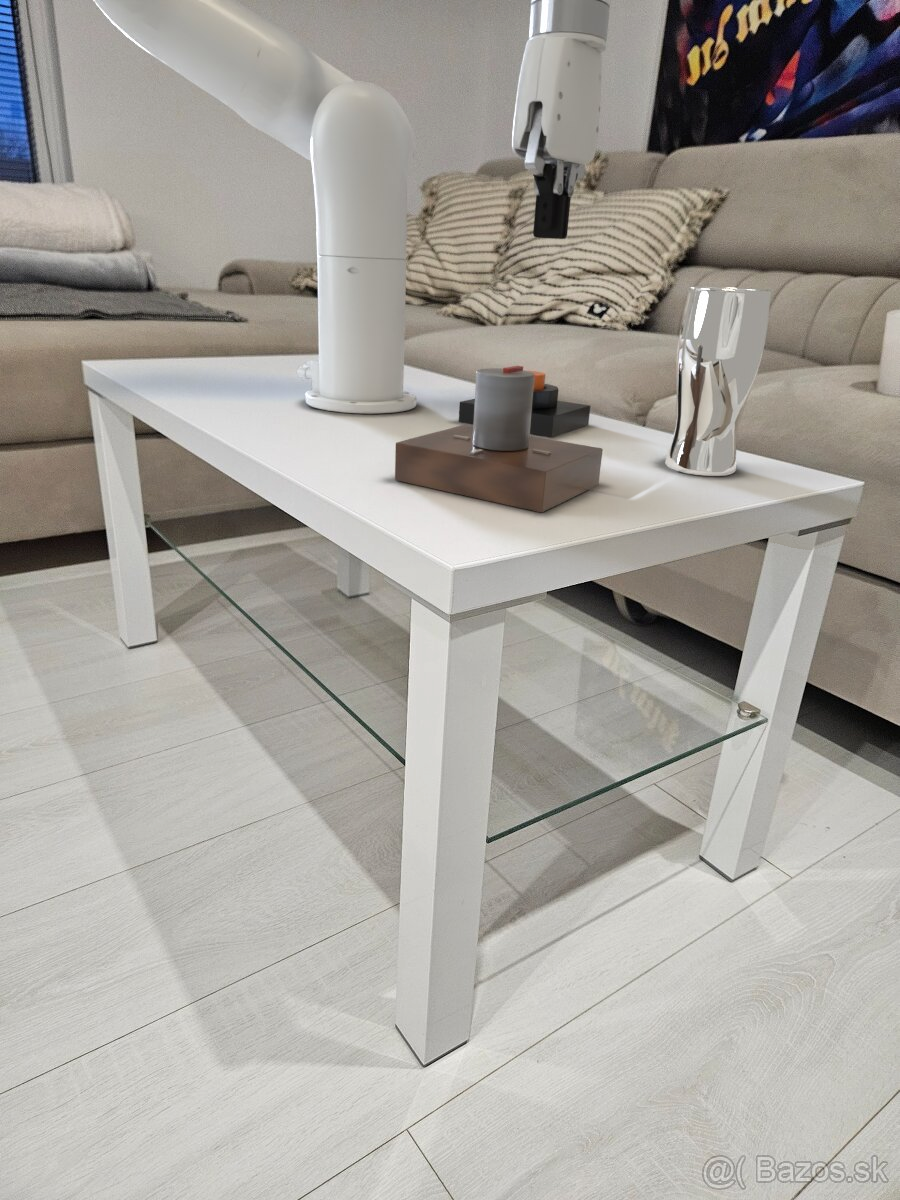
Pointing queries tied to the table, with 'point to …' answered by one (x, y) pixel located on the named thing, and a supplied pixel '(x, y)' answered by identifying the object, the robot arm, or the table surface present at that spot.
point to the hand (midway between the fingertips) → (549, 237)
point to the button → (538, 380)
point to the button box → (543, 413)
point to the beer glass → (715, 375)
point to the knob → (503, 408)
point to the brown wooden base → (499, 468)
